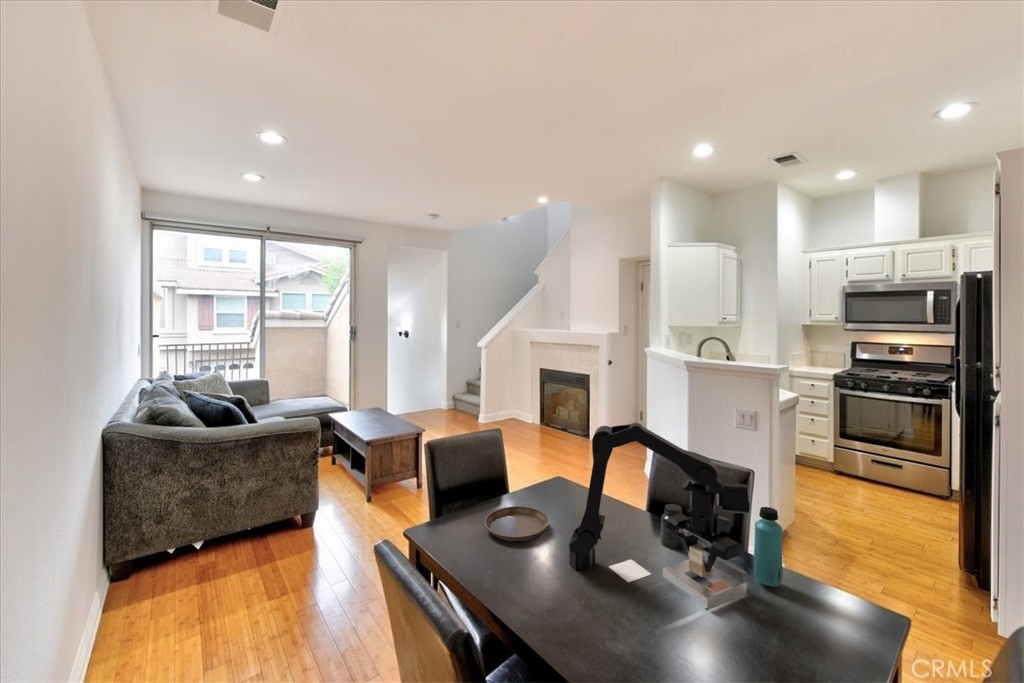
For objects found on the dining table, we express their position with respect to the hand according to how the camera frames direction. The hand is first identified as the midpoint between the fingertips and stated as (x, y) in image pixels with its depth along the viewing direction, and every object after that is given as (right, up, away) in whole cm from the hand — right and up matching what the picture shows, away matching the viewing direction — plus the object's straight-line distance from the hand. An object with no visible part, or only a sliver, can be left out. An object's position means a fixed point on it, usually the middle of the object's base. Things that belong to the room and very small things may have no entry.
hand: (700, 567), depth 113 cm
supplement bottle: (0, -4, +20) cm, 21 cm away
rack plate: (+1, -5, +1) cm, 5 cm away
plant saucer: (-47, -4, +32) cm, 57 cm away
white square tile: (-16, -5, +7) cm, 18 cm away
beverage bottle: (+17, -5, +1) cm, 18 cm away
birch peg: (0, -1, 0) cm, 1 cm away
